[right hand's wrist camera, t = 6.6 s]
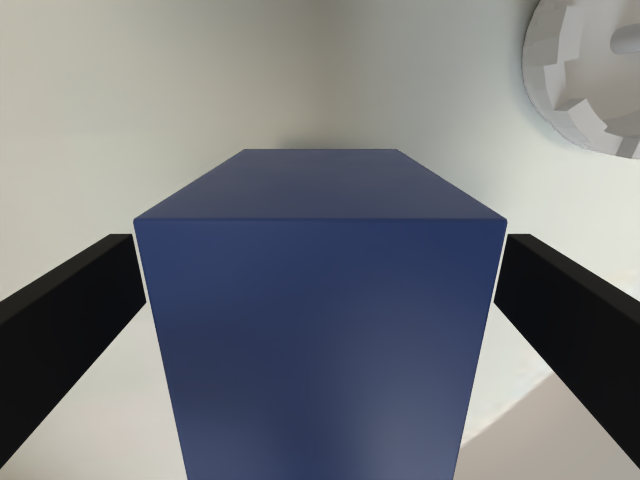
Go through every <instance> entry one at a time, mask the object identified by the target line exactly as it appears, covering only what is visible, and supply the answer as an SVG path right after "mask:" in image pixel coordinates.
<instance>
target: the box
mask: <svg viewBox="0 0 640 480" xmlns="http://www.w3.org/2000/svg"><path fill="white" fill-rule="evenodd" d="M133 224H134V229H135V233H136V238H137V243H138V247H139V252H140V257H141V262H142V266H143V271H144V276H145V281H146V285H147V290H148V295H149V299H150V304H151V309H152V314H153V318H154V323H155V328H156V332H157V337H158V342H159V347H160V351H161V356H162V361H163V365H164V370H165V375H166V380H167V384H168V389H169V394H170V399H171V403H172V408H173V413H174V417H175V422H176V427H177V432H178V436H179V441H180V446H181V450H182V455H183V460H184V465H185V469H186V474H187V479H188V480H453V476H454V472H455V467H456V462H457V458H458V453H459V448H460V444H461V439H462V434H463V429H464V425H465V420H466V415H467V411H468V406H469V401H470V397H471V392H472V387H473V382H474V378H475V373H476V368H477V364H478V359H479V354H480V349H481V345H482V340H483V335H484V331H485V326H486V321H487V317H488V312H489V307H490V302H491V298H492V293H493V288H494V284H495V279H496V274H497V269H498V265H499V260H500V255H501V251H502V246H503V241H504V237H505V232H506V227H507V219H506V218H504V217H502V216H501V215H499V214H498V213H496V212H495V211H493V210H491V209H490V208H488V207H487V206H485V205H484V204H482V203H480V202H479V201H477V200H476V199H474V198H473V197H471V196H469V195H468V194H466V193H465V192H463V191H462V190H460V189H458V188H457V187H455V186H454V185H452V184H451V183H449V182H447V181H446V180H444V179H443V178H441V177H440V176H438V175H436V174H435V173H433V172H432V171H430V170H429V169H427V168H425V167H424V166H422V165H421V164H419V163H418V162H416V161H414V160H413V159H411V158H410V157H408V156H407V155H405V154H403V153H402V152H400V151H399V150H397V149H244V150H242V151H241V152H239V153H238V154H236V155H234V156H233V157H231V158H230V159H228V160H227V161H225V162H223V163H222V164H220V165H219V166H217V167H215V168H214V169H212V170H211V171H209V172H208V173H206V174H204V175H203V176H201V177H200V178H198V179H196V180H195V181H193V182H192V183H190V184H189V185H187V186H185V187H184V188H182V189H181V190H179V191H177V192H176V193H174V194H173V195H171V196H170V197H168V198H166V199H165V200H163V201H162V202H160V203H158V204H157V205H155V206H154V207H152V208H151V209H149V210H147V211H146V212H144V213H143V214H141V215H139V216H138V217H136V218H135V219H134V221H133Z"/></svg>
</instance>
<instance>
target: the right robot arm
mask: <svg viewBox="0 0 640 480" xmlns="http://www.w3.org/2000/svg"><path fill="white" fill-rule="evenodd" d="M145 303H146V298H145V293H144V288H143V283H142V279H141V274H140V269H139V264H138V260H137V255H136V250H135V246H134V241H133V236H132V234H109V235H108V236H106V237H104V238H103V239H101V240H100V241H98V242H96V243H95V244H93V245H91V246H90V247H88V248H87V249H85V250H83V251H82V252H80V253H79V254H77V255H75V256H74V257H72V258H70V259H69V260H67V261H66V262H64V263H62V264H61V265H59V266H58V267H56V268H54V269H53V270H51V271H49V272H48V273H46V274H45V275H43V276H41V277H40V278H38V279H36V280H35V281H33V282H32V283H30V284H28V285H27V286H25V287H24V288H22V289H20V290H19V291H17V292H15V293H14V294H12V295H11V296H9V297H7V298H6V299H4V300H2V301H1V302H0V469H1V468H2V467H3V465H4V464H5V463H6V462H7V461H8V460H9V459H10V458H11V456H12V455H13V454H14V453H15V452H16V451H17V450H18V448H19V447H20V446H21V445H22V444H23V443H24V442H25V440H26V439H27V438H28V437H29V436H30V435H31V434H32V432H33V431H34V430H35V429H36V428H37V427H38V426H39V424H40V423H41V422H42V421H43V420H44V419H45V418H46V416H47V415H48V414H49V413H50V412H51V411H52V410H53V408H54V407H55V406H56V405H57V404H58V403H59V402H60V400H61V399H62V398H63V397H64V396H65V395H66V394H67V392H68V391H69V390H70V389H71V388H72V387H73V386H74V384H75V383H76V382H77V381H78V380H79V379H80V378H81V376H82V375H83V374H84V373H85V372H86V371H87V370H88V368H89V367H90V366H91V365H92V364H93V363H94V362H95V360H96V359H97V358H98V357H99V356H100V355H101V354H102V353H103V351H104V350H105V349H106V348H107V347H108V346H109V345H110V343H111V342H112V341H113V340H114V339H115V338H116V337H117V335H118V334H119V333H120V332H121V331H122V330H123V329H124V327H125V326H126V325H127V324H128V323H129V322H130V321H131V319H132V318H133V317H134V316H135V315H136V314H137V313H138V311H139V310H140V309H141V308H142V307H143V306H144V305H145ZM494 303H495V305H496V306H497V307H498V308H499V309H500V310H501V311H502V313H503V314H504V315H505V316H506V317H507V318H508V319H509V321H510V322H511V323H512V324H513V325H514V326H515V327H516V329H517V330H518V331H519V332H520V333H521V334H522V335H523V337H524V338H525V339H526V340H527V341H528V342H529V343H530V345H531V346H532V347H533V348H534V349H535V350H536V351H537V353H538V354H539V355H540V356H541V357H542V358H543V359H544V361H545V362H546V363H547V364H548V365H549V366H550V367H551V368H552V370H553V371H554V372H555V373H556V374H557V375H558V376H559V378H560V379H561V380H562V381H563V382H564V383H565V384H566V386H567V387H568V388H569V389H570V390H571V391H572V392H573V394H574V395H575V396H576V397H577V398H578V399H579V400H580V402H581V403H582V404H583V405H584V406H585V407H586V408H587V409H588V411H589V412H590V413H591V414H592V415H593V416H594V418H595V419H596V420H597V421H598V422H599V423H600V424H601V426H602V427H603V428H604V429H605V430H606V431H607V432H608V433H609V435H610V436H611V437H612V438H613V439H614V440H615V442H616V443H617V444H618V445H619V446H620V447H621V448H622V450H623V451H624V452H625V453H626V454H627V455H628V456H629V457H630V459H631V460H632V461H633V462H634V463H635V464H636V465H637V467H638V468H639V469H640V302H639V301H638V300H636V299H634V298H633V297H631V296H629V295H628V294H626V293H625V292H623V291H621V290H620V289H618V288H616V287H615V286H613V285H612V284H610V283H608V282H607V281H605V280H604V279H602V278H600V277H599V276H597V275H595V274H594V273H592V272H591V271H589V270H587V269H586V268H584V267H582V266H581V265H579V264H578V263H576V262H574V261H573V260H571V259H570V258H568V257H566V256H565V255H563V254H561V253H560V252H558V251H557V250H555V249H553V248H552V247H550V246H549V245H547V244H545V243H544V242H542V241H540V240H539V239H537V238H536V237H534V236H532V235H531V234H508V236H507V241H506V246H505V250H504V255H503V260H502V264H501V269H500V274H499V279H498V283H497V288H496V293H495V298H494Z"/></svg>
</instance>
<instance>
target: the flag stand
mask: <svg viewBox="0 0 640 480" xmlns="http://www.w3.org/2000/svg"><path fill="white" fill-rule="evenodd" d="M522 72H523V79H524V85H525V88H526V91H527V93H528V96H529V99H530V101H531V102H532V104H533V105H534V107H535V108H536V110H537V111H538V112H539V113H540V114H541V115H542V116H543V117H544V118H545V119H546V120H547V121H548V122H550V124H551V125H552V127H553V128H554V129H555V130H556V131H558V132H559V133H560V134H561V135H562V136H563V137H564V138H565V139H566V140H568V141H570V142H572V143H574V144H576V145H577V146H579V147H581V148H584V149H587V150H591V151H595V152H599V153H603V154H609V155H614V156H619V157H625V158H630V159H640V0H541V1H540V2H539V4H538V6H537V8H536V9H535V11H534V14H533V16H532V19H531V21H530V24H529V26H528V29H527V33H526V37H525V41H524V46H523V55H522Z"/></svg>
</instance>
